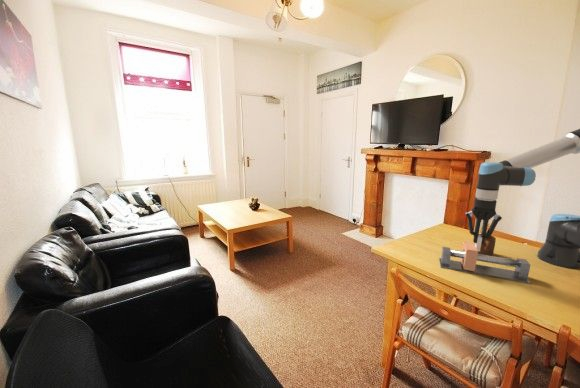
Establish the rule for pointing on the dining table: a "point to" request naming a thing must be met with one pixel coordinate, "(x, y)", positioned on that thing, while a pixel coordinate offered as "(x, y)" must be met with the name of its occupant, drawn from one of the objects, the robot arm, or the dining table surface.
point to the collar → (469, 256)
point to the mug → (488, 246)
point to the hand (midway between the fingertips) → (477, 250)
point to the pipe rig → (518, 275)
